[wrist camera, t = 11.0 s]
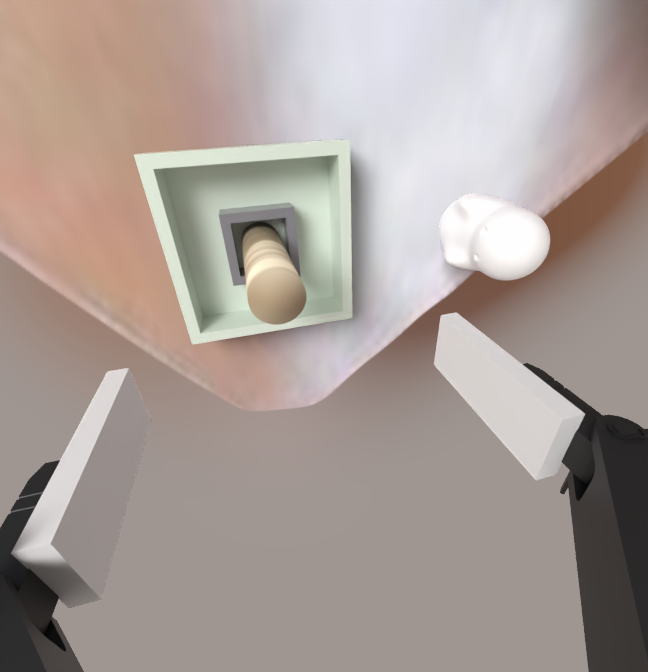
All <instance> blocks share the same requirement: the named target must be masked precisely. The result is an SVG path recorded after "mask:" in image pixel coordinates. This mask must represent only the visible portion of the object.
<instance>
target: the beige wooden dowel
mask: <svg viewBox="0 0 648 672" xmlns="http://www.w3.org/2000/svg"><path fill="white" fill-rule="evenodd" d="M241 241H242V251H243V260H244V269H245V279H246V288H247V298H248V304H249V308H250V310H251V312H252V313H253V314H254V316H255V317H257V318H258V319H259V320H261V321H263V322H265V323H268V324H273V325H279V324H285V323H288V322H290V321H292V320H294V319H295V318H296V317H297V316H298V315H299V314H300V313H301V312H302V310H303V309H304V306H305V304H306V298H307V297H306V290H305V287H304V285H303V283H302V281H301V279H300V277H299V275H298V273H297V271H296V269H295V267H294V265H293V263H292V261H291V259H290V257H289V255H288V253H287V251H286V249H285V247H284V245H283V243H282V241H281V239H280V237H279V235H278V233H277V231H276V230H275V228H274V227H273V226H271V225H270V224H268V223H266V222H254V223H251V224H250V225H248V226H247V227H246V228H245V230H244V231H243V234H242V238H241Z"/></svg>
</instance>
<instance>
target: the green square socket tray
mask: <svg viewBox="0 0 648 672" xmlns="http://www.w3.org/2000/svg"><path fill="white" fill-rule="evenodd" d="M134 157H135V160H136V164H137V167H138V170H139V173H140V177H141V180H142V183H143V186H144V190H145V193H146V196H147V199H148V203H149V206H150V209H151V212H152V216H153V219H154V222H155V225H156V229H157V232H158V235H159V238H160V242H161V245H162V248H163V251H164V254H165V258H166V261H167V264H168V267H169V271H170V274H171V277H172V280H173V284H174V287H175V290H176V293H177V297H178V300H179V303H180V306H181V310H182V313H183V316H184V319H185V323H186V326H187V329H188V332H189V336H190V339H191V342H192V345H193V344H199V343H205V342H211V341H217V340H223V339H229V338H235V337H241V336H247V335H253V334H259V333H265V332H271V331H277V330H283V329H289V328H295V327H301V326H307V325H313V324H320V323H326V322H332V321H338V320H344V319H350V318H352V243H351V164H350V140H347V139H334V140H319V141H305V142H290V143H276V144H261V145H247V146H232V147H218V148H203V149H189V150H174V151H160V152H146V153H140V154H134ZM254 222H266V223H268V224H270V225H271V226H273V227H274V228H275V230H276V231H277V233H278V235H279V237H280V239H281V241H282V243H283V245H284V247H285V249H286V251H287V253H288V255H289V257H290V259H291V261H292V263H293V265H294V267H295V269H296V271H297V273H298V275H299V277H300V279H301V281H302V283H303V285H304V287H305V290H306V297H307V298H306V304H305V306H304V309H303V310H302V312H301V313H300V314H299V315H298V316H297V317H296V318H295V319H294V320H292V321H290V322H288V323H285V324H279V325H273V324H268V323H265V322H263V321H261V320H259V319H258V318H257V317H255V316H254V314H253V313H252V312H251V310H250V308H249V304H248V298H247V288H246V279H245V269H244V260H243V251H242V241H241V238H242V234H243V231H244V230H245V228H246V227H247V226H248V225H250V224H251V223H254Z"/></svg>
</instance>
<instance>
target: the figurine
mask: <svg viewBox="0 0 648 672" xmlns="http://www.w3.org/2000/svg"><path fill="white" fill-rule="evenodd" d="M439 237H440V241H441V243H442V246H443V250H444V258H445V261H446V262H447V263H448V264H450V265H452V266H454V267H457V268H461V269H467V270H476V271H481V272H483V273H484V274H485V275H487V276H489V277H491V278H494V279H498V280H515V279H519V278H522V277H524V276H527V275H528V274H530V273H532V272H533V271H535V270H536V269H537V268H538V267H539V266H540V265H541V264H542V262H543V261H544V259H545V257H546V256H547V253H548V250H549V246H550V234H549V230H548V228H547V225H546V224H545V222H544V221H543V220H542V219H541V218H540V217H539V216H538V215H536V214H535V213H533V212H532V211H530V210H528V209H525V208H522V207H519V206H518V205H516V204H514V203H512V202H510V201H507V200H504V199H501V198H497V197H493V196H489V195H485V194H478V193H471V194H466V195H464V196H462V197H461V198H460V199H458V200H456V201H455V202H453V203H452V204H451V205H450V206H449V207H448V208H447V209H446V211H445V212H444V214H443V216H442V218H441V221H440V224H439Z"/></svg>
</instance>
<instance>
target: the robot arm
mask: <svg viewBox="0 0 648 672" xmlns="http://www.w3.org/2000/svg"><path fill="white" fill-rule="evenodd" d="M434 365H435V366H436V368H437V369H438V370H439V371H440V372H441V373H442V374H443V376H445V378H446V379H447V380H448V381H449V382H450V384H451V385H452V386H453V387H454V388H455V389H456V390H457V391H458V392H459V394H460V395H461V396H462V397H463V398H464V399H465V400H466V402H467V403H468V404H469V405H470V406H471V407H472V408H473V409H474V411H475V412H476V413H477V414H478V415H479V416H480V417H481V419H482V420H483V421H484V422H485V423H486V424H487V425H488V427H489V428H490V429H491V430H492V431H493V432H494V433H495V434H496V436H497V437H498V438H499V439H500V440H501V441H502V442H503V444H504V445H505V446H506V447H507V448H508V449H509V450H510V451H511V453H512V454H513V455H514V456H515V457H516V458H517V459H518V461H519V462H520V463H521V464H522V465H523V466H524V467H525V468H526V470H527V471H528V472H529V473H530V474H531V475H532V476H533V478H534V479H535V480H539V479H542V478H546V477H549V476H553V475H556V474H557V471H558V470H559V467H560V465H561V463H563V464H564V465H565V466H566V467H567V468H569V470H570V472H569V473H568V476H567V477H566V479H565V481H564V483H563V485H562V487H561V491H560V493H562V494H564V493H565V492H566V490H567V488H569V497H570V506H571V515H572V524H573V533H574V542H575V551H576V560H577V569H578V578H579V587H580V596H581V606H582V615H583V623H584V632H585V642H586V650H587V660H588V669H589V672H648V429H643V428H642V427H640V426H639V425H638V424H636V423H634V422H632V421H630V420H628V419H625V418H622V417H619V416H613V415H604V416H603V415H601V414H600V413H599V412H597V411H596V410H595V409H593V408H592V407H591V406H589V405H588V404H587V403H585V402H584V401H583V400H581V399H580V398H579V397H577V396H576V395H575V394H573V393H572V392H571V391H569V390H568V389H567V388H564V387H563V385H561V384H560V383H559V382H557V381H554V379H553V378H552V377H551V376H549V375H548V374H547V373H546V372H544V371H543V370H541V369H539V368H536V367H534V366H532V365H530V364H528V363H526V364H521V363H520V362H519V361H517V360H516V359H515V358H514V357H512V356H511V355H510V354H508V353H507V352H506V351H505V350H503V349H502V348H501V347H499V346H498V345H497V344H496V343H494V342H493V341H492V340H491V339H489V338H488V337H487V336H486V335H484V334H483V333H482V332H480V331H479V330H478V329H477V328H475V327H474V326H473V325H471V324H470V323H469V322H468V321H466V320H465V319H464V318H463V317H461V316H460V315H459V314H457V313H451V314H446V315H441V319H440V326H439V333H438V339H437V346H436V353H435V360H434ZM151 421H152V419H151V416H150V414H149V412H148V410H147V408H146V405H145V403H144V401H143V399H142V397H141V394H140V392H139V390H138V387H137V385H136V383H135V381H134V378H133V376H132V374H131V372H130V370H129V368H126V369H120V370H115V371H108V372H107V373H106V375H105V377H104V379H103V381H102V383H101V385H100V386H99V388H98V390H97V392H96V394H95V396H94V398H93V400H92V401H91V403H90V405H89V407H88V409H87V411H86V413H85V415H84V417H83V418H82V420H81V422H80V424H79V426H78V428H77V430H76V432H75V434H74V435H73V437H72V439H71V441H70V443H69V445H68V447H67V449H66V451H65V453H64V454H63V456H62V458H61V460H59V461H54V462H50V463H45V464H44V465H43V466H42V467H41V468H40V469H39V470H38V471H37V472H36V473H35V474H34V475H33V476H32V477H31V478H30V479H29V481H28V482H27V484H26V485H25V487H24V489H23V491H22V492H21V494H20V496H19V500H17V501H16V502H15V504H14V506H13V507H12V509H11V514H8V516H7V518H6V519H5V521H4V523H3V524H2V526H1V528H0V672H84V671H83V669H82V667H81V666H80V664H79V662H78V660H77V658H76V656H75V654H74V652H73V651H72V648H71V647H70V645H69V643H68V641H67V639H66V637H65V635H64V633H63V631H62V630H61V628H60V626H59V624H58V622H57V620H55V619H54V618H53V617H52V614H53V612H54V609H55V606H56V604H57V601H58V598H59V599H60V600H61V601H62V602H63V603H64V604H65V605H66V606H67V607H68V608H72V607H75V606H79V605H83V604H86V603H89V602H94V601H97V600H100V599H101V598H102V595H103V591H104V588H105V584H106V581H107V577H108V573H109V570H110V566H111V563H112V559H113V556H114V552H115V549H116V545H117V541H118V538H119V535H120V531H121V528H122V524H123V520H124V517H125V513H126V510H127V506H128V503H129V499H130V496H131V492H132V489H133V485H134V482H135V478H136V475H137V471H138V467H139V464H140V460H141V457H142V453H143V450H144V446H145V442H146V439H147V435H148V432H149V428H150V425H151Z"/></svg>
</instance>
